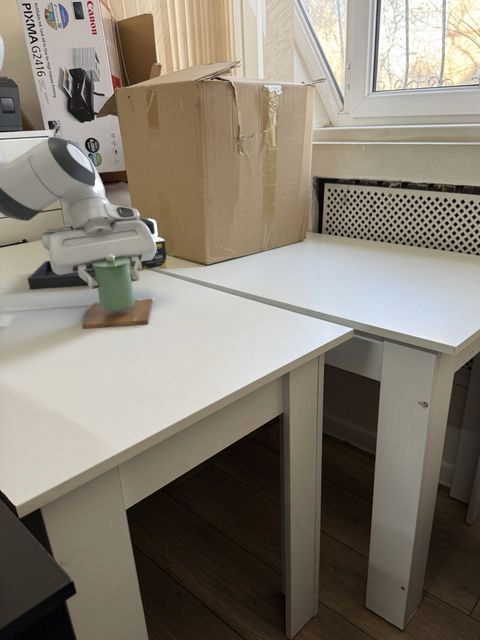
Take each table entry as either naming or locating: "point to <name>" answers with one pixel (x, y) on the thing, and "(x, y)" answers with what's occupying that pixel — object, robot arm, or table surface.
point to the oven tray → (55, 278)
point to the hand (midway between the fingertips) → (115, 283)
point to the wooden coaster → (119, 315)
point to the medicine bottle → (160, 254)
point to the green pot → (114, 283)
